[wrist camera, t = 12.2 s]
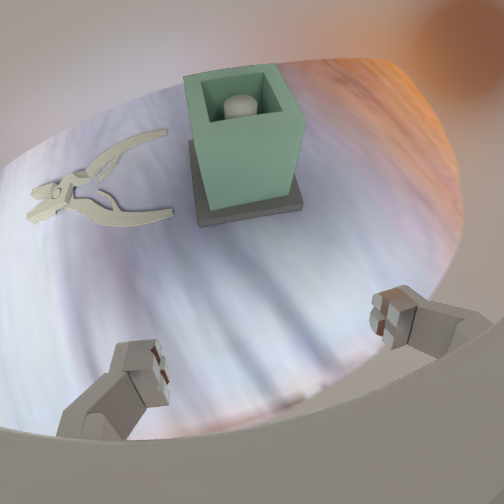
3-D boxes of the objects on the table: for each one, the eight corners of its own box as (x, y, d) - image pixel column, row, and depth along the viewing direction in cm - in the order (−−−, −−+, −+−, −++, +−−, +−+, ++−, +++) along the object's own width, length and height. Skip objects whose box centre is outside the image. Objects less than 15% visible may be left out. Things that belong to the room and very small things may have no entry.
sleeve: (210, 211, 21) (193, 140, 13) (198, 150, 23) (183, 76, 15) (288, 195, 21) (306, 121, 14) (267, 137, 23) (274, 63, 16)
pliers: (170, 211, 21) (22, 250, 19) (174, 220, 22) (32, 256, 21) (164, 121, 24) (36, 164, 22) (167, 132, 25) (43, 172, 24)
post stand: (199, 227, 22) (177, 165, 14) (190, 147, 24) (173, 79, 16) (301, 210, 22) (325, 145, 15) (277, 135, 25) (286, 65, 17)
